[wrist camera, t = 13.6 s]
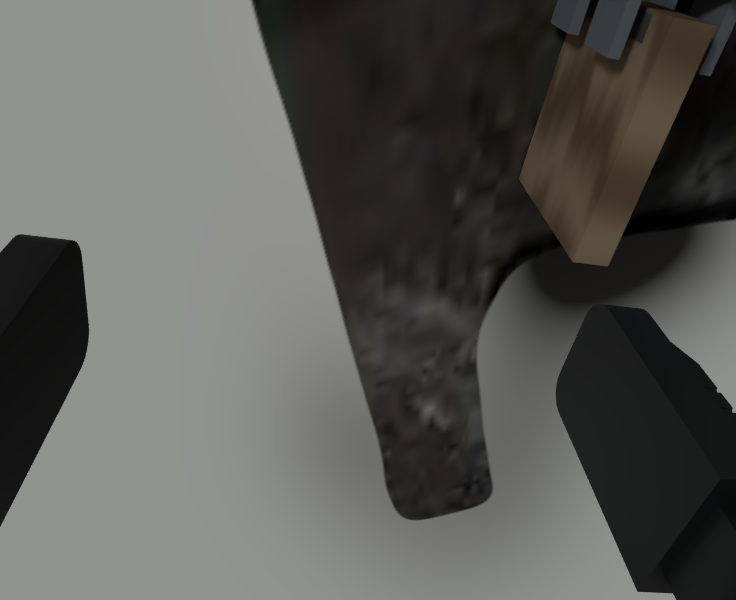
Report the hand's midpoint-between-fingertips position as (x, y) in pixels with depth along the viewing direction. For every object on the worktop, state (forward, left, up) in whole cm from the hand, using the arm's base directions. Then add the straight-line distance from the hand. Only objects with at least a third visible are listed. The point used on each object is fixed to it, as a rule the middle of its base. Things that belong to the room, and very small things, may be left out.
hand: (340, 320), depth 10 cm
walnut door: (+2, +15, -30) cm, 34 cm away
